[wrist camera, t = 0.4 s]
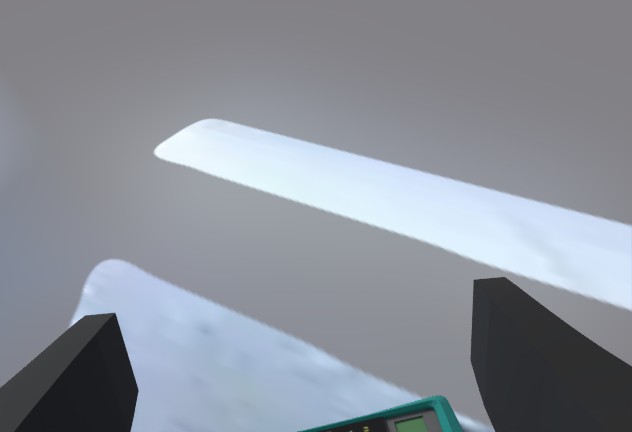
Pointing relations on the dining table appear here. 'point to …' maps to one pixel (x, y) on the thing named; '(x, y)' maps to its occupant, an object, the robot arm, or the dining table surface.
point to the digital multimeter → (402, 419)
